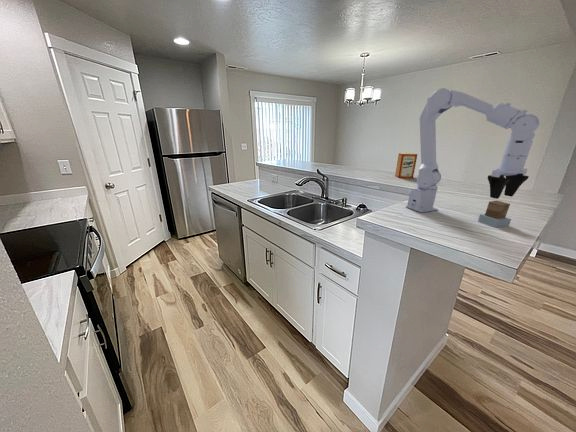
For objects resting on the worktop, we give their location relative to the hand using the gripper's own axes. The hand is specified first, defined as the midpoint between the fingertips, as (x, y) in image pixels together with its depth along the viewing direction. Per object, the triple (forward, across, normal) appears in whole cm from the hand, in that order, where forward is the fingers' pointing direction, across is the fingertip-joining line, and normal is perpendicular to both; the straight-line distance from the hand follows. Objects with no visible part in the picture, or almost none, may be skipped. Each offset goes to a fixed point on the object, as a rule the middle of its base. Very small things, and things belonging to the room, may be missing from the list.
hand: (501, 196), depth 79 cm
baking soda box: (+10, +37, +76) cm, 85 cm away
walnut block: (+7, 0, 0) cm, 7 cm away
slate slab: (+10, 0, 0) cm, 10 cm away
